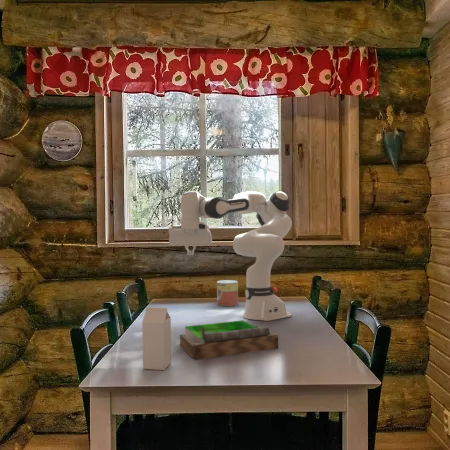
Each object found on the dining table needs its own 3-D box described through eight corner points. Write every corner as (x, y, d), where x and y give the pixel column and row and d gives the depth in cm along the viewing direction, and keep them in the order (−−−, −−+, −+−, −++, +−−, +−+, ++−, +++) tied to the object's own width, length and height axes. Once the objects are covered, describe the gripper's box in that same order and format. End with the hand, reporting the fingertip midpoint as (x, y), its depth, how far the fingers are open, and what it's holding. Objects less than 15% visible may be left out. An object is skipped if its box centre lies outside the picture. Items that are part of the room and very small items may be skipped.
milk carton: (164, 370, 144) (163, 310, 144) (142, 369, 146) (141, 309, 145) (171, 363, 151) (170, 305, 151) (150, 362, 153) (150, 305, 152)
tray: (206, 357, 158) (206, 343, 158) (185, 339, 181) (185, 326, 181) (271, 348, 168) (271, 335, 167) (243, 332, 191) (242, 320, 191)
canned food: (213, 303, 248) (213, 280, 248) (232, 301, 253) (232, 279, 253) (222, 307, 238) (222, 283, 238) (241, 305, 243) (241, 282, 242)
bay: (256, 335, 183) (256, 309, 183) (279, 348, 166) (278, 319, 166) (180, 345, 171) (179, 317, 171) (195, 360, 154) (195, 329, 154)
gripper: (167, 225, 215) (167, 255, 215) (211, 225, 214) (211, 255, 214) (169, 225, 221) (170, 254, 222) (212, 224, 220) (212, 253, 220)
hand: (190, 254), depth 218 cm, fingers closed
